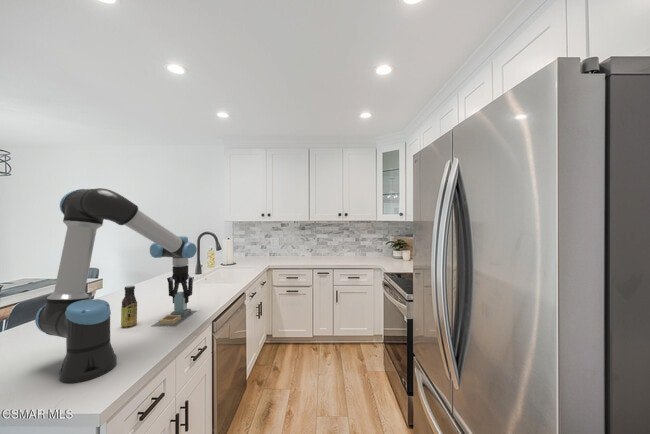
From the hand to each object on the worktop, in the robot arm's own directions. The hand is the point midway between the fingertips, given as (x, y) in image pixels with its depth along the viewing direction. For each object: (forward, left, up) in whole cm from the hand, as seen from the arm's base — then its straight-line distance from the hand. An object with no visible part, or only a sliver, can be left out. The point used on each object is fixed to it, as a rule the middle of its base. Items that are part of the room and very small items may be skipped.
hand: (180, 309), depth 148 cm
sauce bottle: (-15, +17, -4) cm, 23 cm away
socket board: (-5, 0, -4) cm, 6 cm away
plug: (0, 0, -3) cm, 3 cm away
